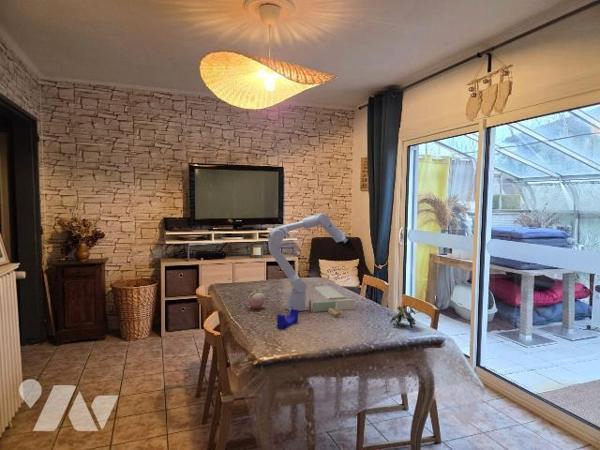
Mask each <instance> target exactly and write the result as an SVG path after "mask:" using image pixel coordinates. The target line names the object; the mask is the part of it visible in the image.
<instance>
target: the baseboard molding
mask: <svg viewBox="0 0 600 450" xmlns="http://www.w3.org/2000/svg"><path fill="white" fill-rule="evenodd" d="M312 288H313V289H315V290H316V291H317V292H318V293H319V294H321V295H322V296H323V297H324V298H325V299H326V300H346V296H344V295H343V294H342V293H340V292H339V291H337V290H336V289H335V288H333V286H331V285H323V284H321V283H320V285H315V286H312Z"/></svg>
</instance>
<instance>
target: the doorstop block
mask: <svg viewBox="0 0 600 450" xmlns="http://www.w3.org/2000/svg"><path fill="white" fill-rule="evenodd" d="M327 313H328V314H330V315H331V316H332V317H333V318H335V319H340V318H344V312H342V310H338V309H337V308H328V311H327Z"/></svg>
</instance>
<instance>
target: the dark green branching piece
mask: <svg viewBox="0 0 600 450" xmlns="http://www.w3.org/2000/svg"><path fill="white" fill-rule="evenodd" d="M396 307H397V310H398V311H399V312H398V313H397V314H396V315H393V316H392V315H391V313H390V312H387V317H388V318H389V316H390V317H391V320H390V322H389V324H391V323H392V322H394V323H395V324H394V326H393V328H396V326H397V325H399V324H400V323H401V321H402V319H405V320H406V321H408V323H409V326H410V328H414V326H416V324H417V323H416V319H415V318H414V317H413V316H412V313H413V314H414V315H416V311H415V310H414V309H413V308H412V307H409V310H410V312H409V311H407V309H405V307H403V306H401V305H399V306H396Z"/></svg>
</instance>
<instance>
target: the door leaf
mask: <svg viewBox="0 0 600 450" xmlns="http://www.w3.org/2000/svg"><path fill="white" fill-rule="evenodd" d="M336 307H337V300H331V301H330V300H329V301H317V302H312V312H313V313H314V312H326V311H327V312H328V308H336Z"/></svg>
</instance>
